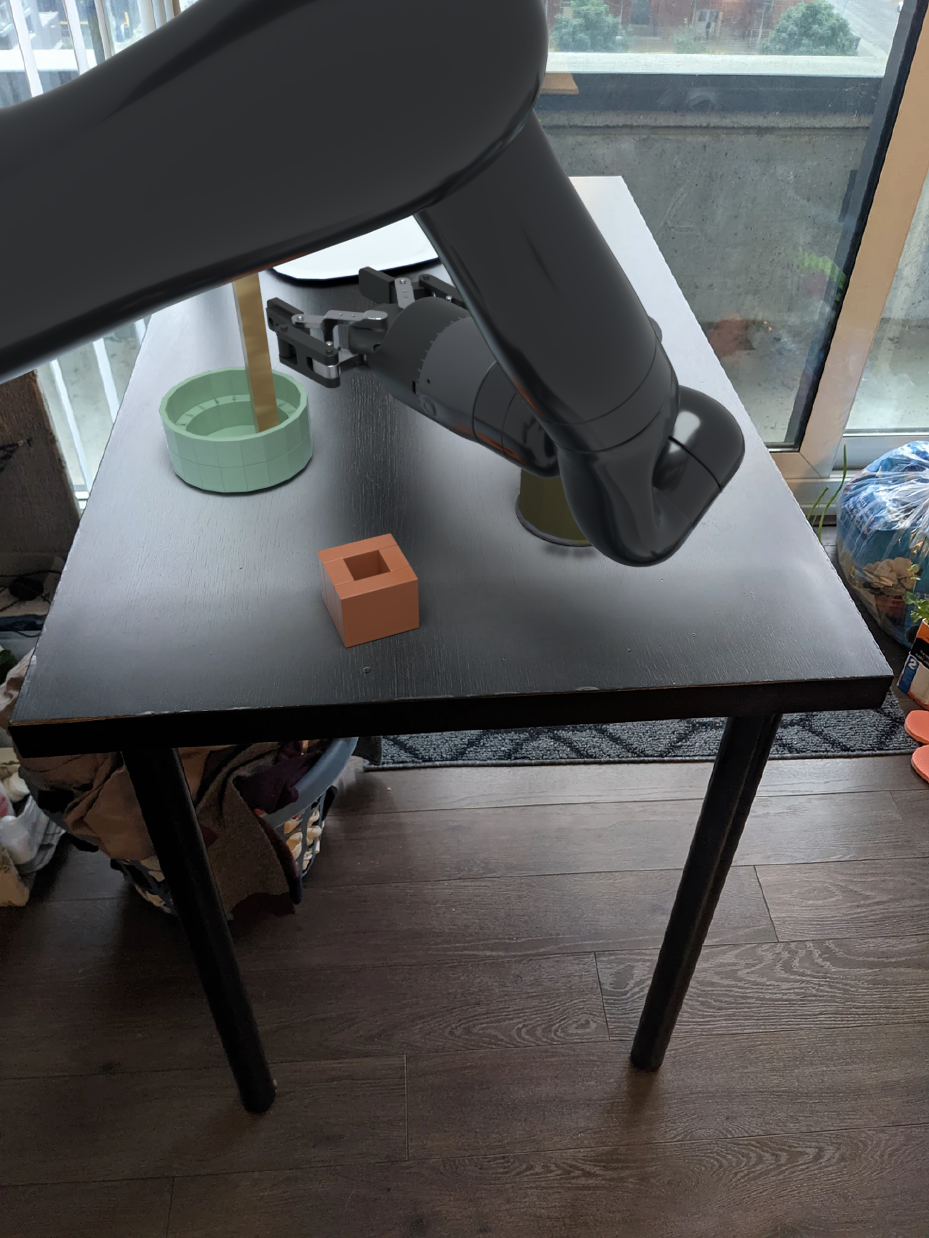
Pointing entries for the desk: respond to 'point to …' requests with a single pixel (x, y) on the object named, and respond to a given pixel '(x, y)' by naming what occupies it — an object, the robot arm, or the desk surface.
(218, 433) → the mixing bowl
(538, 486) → the canister
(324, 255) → the plate
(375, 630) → the orange square socket block
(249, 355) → the stirring stick
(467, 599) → the desk surface
